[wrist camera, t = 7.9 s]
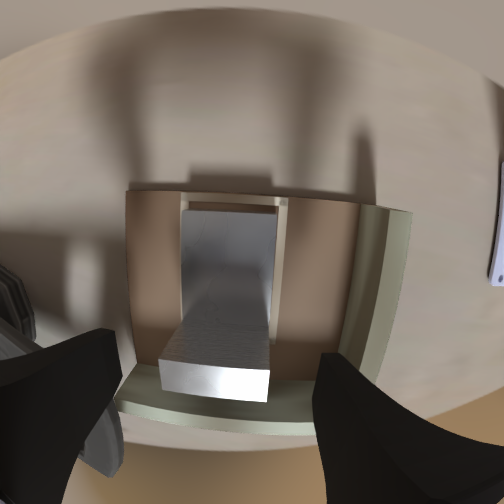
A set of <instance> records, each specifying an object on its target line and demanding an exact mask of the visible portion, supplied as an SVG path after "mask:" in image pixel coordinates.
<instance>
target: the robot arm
mask: <svg viewBox="0 0 504 504" xmlns="http://www.w3.org/2000/svg"><path fill="white" fill-rule="evenodd" d="M499 276H500V277H499ZM489 283H490V284H491V285H493V286H504V161H503V163H502V175H501V197H500V209H499V219H498V227H497V235H496V241H495V248H494V253H493V259H492V264H491V269H490V274H489ZM122 377H123V375H122V370H121V365H120V360H119V354H118V349H117V343H116V337H115V331H113V330H108V329H103V328H99V329H95V330H92V331H89V332H86V333H84V334H81V335H78V336H76V337H73V338H71V339H68V340H66V341H63V342H61V343H58V344H55V345H53V346H50V347H47V348H44V349H41V350H38V351H35V352H32V353H29V354H26V355H22V356H18V357H14V358H9V359H5V360H0V504H61V503H62V499H63V495H64V492H65V489H66V486H67V482H68V480H69V477H70V474H71V472H72V469H73V466H74V464H75V461H76V459H77V457H78V455H79V452H80V450H81V448H82V446H83V444H84V442H85V440H86V439H87V437H88V435H89V434H90V432H91V431H92V429H93V428H94V426H95V425H96V423H97V421H98V420H99V418H100V417H101V415H102V414H103V412H104V411H105V409H106V408H107V406H108V405H109V403H110V401H111V400H112V398H113V397H114V394H115V392H116V390H117V388H118V386H119V384H120V381H121V379H122ZM312 411H313V423H314V428H315V432H316V437H317V442H318V446H319V451H320V456H321V460H322V465H323V470H324V476H325V482H326V495H327V504H497V503H498V502H499V501H500V500H501V499H502V498H503V497H504V446H499V445H493V444H488V443H483V442H479V441H475V440H472V439H469V438H466V437H463V436H460V435H457V434H455V433H452V432H449V431H447V430H444V429H443V428H440V427H438V426H436V425H434V424H432V423H430V422H428V421H426V420H424V419H422V418H420V417H419V416H417V415H416V414H414V413H412V412H411V411H409V410H407V409H406V408H404V407H403V406H401V405H400V404H398V403H397V402H396V401H394V400H393V399H392V398H390V397H389V396H388V395H386V394H385V393H384V392H382V391H381V390H380V389H379V388H378V387H376V386H375V385H374V384H373V383H372V382H371V381H369V380H368V379H367V378H366V377H365V376H364V375H363V374H362V373H361V372H360V371H359V370H357V369H356V368H355V367H354V366H353V365H352V364H351V363H350V362H349V361H348V360H347V359H346V358H345V357H344V356H342V355H341V354H340V353H321V358H320V363H319V368H318V372H317V377H316V382H315V386H314V390H313V395H312Z"/></svg>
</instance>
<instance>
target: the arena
mask: <svg viewBox="0 0 504 504" xmlns="http://www.w3.org/2000/svg"><path fill="white" fill-rule="evenodd" d="M189 208H203V209H227V210H247V211H265V212H276V213H277V225H276V241H275V255H274V269H273V282H272V295H271V308H270V320H269V368H270V371H269V380H268V390H267V399H266V401H249V400H236V399H225V398H216V397H207V396H199V395H192V394H185V393H178V392H172V391H166V390H162V384H161V377H160V369H159V361H158V358H159V357H160V355H161V353H162V352H163V350H164V349H165V347H166V345H167V344H168V342H169V340H170V339H171V337H172V336H173V334H174V332H175V331H176V329H177V327H178V326H179V324H180V323H181V321H182V288H181V216H182V210H185V209H189ZM412 215H413V213H411V212H406V211H401V210H397V209H392V208H387V207H382V206H377V205H370V204H361V203H352V202H343V201H333V200H323V199H313V198H301V197H289V196H275V195H260V194H244V193H224V192H197V191H126V259H127V277H128V290H129V302H130V312H131V321H132V330H133V338H134V345H135V352H136V359H137V364H136V365H135V367H134V368H133V370H132V371H131V373H130V374H129V376H128V377H127V379H126V380H125V382H124V383H123V385H122V386H121V387H120V389H119V390H118V392H117V393H116V395H115V396H114V401H115V404H116V408H117V411H119V412H123V413H127V414H131V415H135V416H139V417H143V418H147V419H152V420H156V421H161V422H166V423H171V424H177V425H182V426H188V427H195V428H201V429H209V430H217V431H225V432H236V433H248V434H264V435H316V432H315V428H314V423H313V411H312V395H313V390H314V386H315V382H316V377H317V372H318V368H319V363H320V358H321V353H340V354H341V355H342V356H344V357H345V358H346V359H347V360H348V361H349V362H350V363H351V364H352V365H353V366H354V367H355V368H356V369H357V370H359V371H360V372H361V373H362V374H363V375H364V376H365V377H366V378H367V379H368V380H369V381H371V382H372V383H373V384H374V385H375V382H376V379H377V376H378V373H379V370H380V367H381V364H382V361H383V358H384V354H385V351H386V347H387V344H388V340H389V337H390V333H391V329H392V325H393V321H394V317H395V313H396V309H397V305H398V300H399V296H400V291H401V286H402V281H403V276H404V270H405V265H406V259H407V253H408V246H409V239H410V232H411V224H412Z"/></svg>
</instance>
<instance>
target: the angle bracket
mask: <svg viewBox="0 0 504 504" xmlns="http://www.w3.org/2000/svg"><path fill="white" fill-rule="evenodd" d="M276 225H277V213H276V212H265V211H247V210H227V209H203V208H189V209H185V210H182V216H181V288H182V321H181V323H180V324H179V326H178V327H177V329H176V331H175V332H174V334H173V336H172V337H171V339H170V340H169V342H168V344H167V345H166V347H165V349H164V350H163V352H162V353H161V355H160V357H159V358H158V361H159V369H160V377H161V384H162V390H166V391H172V392H178V393H185V394H192V395H199V396H207V397H216V398H225V399H236V400H249V401H266V399H267V390H268V380H269V371H270V368H269V320H270V308H271V295H272V282H273V269H274V255H275V241H276Z"/></svg>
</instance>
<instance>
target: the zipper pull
mask: <svg viewBox="0 0 504 504" xmlns="http://www.w3.org/2000/svg"><path fill="white" fill-rule="evenodd" d="M35 339H36V329H35V319H34V313H33V310H32V308H31V305H30V303H29V300H28V297H27V295H26V292H25V289H24V286H23V284H22V281H21V279H19V278H18V277H17V276H16V275H14V274H13V273H11V272H10V271H9V270H7V269H6V268H5V267H3V266H2V265H0V360H5V359H9V358H14V357H18V356H22V355H26V354H29V353H32V352H35V351H38V350H41V349H44V348H42V347H41V346H39V345H38V344H36V343H35V342H34V341H35ZM123 456H124V442H123V433H122V427H121V422H120V417H119V414H118V411H117V408H116V405H115V402H114V399H113V398H112V400H111V401H110V403H109V405H108V406H107V408H106V409H105V411H104V412H103V414H102V415H101V417H100V418H99V420H98V421H97V423H96V425H95V426H94V428H93V429H92V431H91V432H90V434H89V435H88V437H87V439H86V440H85V442H84V444H83V446H82V448H81V450H80V452H79V455H78V458H79V459H81V460H82V461H84V462H85V463H86V464H88V465H89V466H91V467H92V468H94V469H95V470H97V471H99V472H100V473H102V474H103V475H105V476H107V477H113V476H114V475H115V474H116V472H117V471H118V469H119V468H120V466H121V464H122V463H123Z"/></svg>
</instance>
